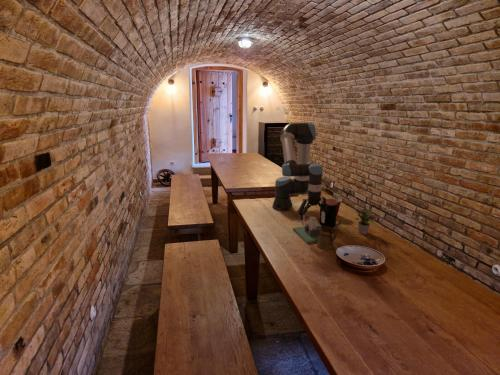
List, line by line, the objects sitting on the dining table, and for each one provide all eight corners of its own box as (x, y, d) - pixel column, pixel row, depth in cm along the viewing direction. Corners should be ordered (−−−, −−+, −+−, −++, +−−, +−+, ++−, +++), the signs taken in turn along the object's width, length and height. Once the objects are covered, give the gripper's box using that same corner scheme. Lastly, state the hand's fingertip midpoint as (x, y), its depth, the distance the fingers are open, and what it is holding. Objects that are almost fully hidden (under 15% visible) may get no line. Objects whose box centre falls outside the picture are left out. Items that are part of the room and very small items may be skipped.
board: (292, 230, 201) (293, 222, 199) (315, 227, 205) (315, 219, 204) (307, 243, 182) (307, 235, 181) (331, 240, 187) (332, 231, 185)
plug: (308, 231, 195) (308, 216, 192) (312, 231, 196) (313, 216, 193) (311, 234, 190) (312, 219, 188) (316, 234, 191) (317, 218, 188)
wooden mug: (334, 254, 170) (337, 223, 165) (313, 246, 180) (315, 216, 175) (343, 248, 176) (345, 219, 171) (322, 241, 186) (324, 212, 181)
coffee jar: (334, 224, 209) (336, 199, 204) (336, 231, 199) (339, 204, 194) (317, 224, 210) (319, 198, 205) (319, 230, 200) (321, 204, 195)
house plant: (356, 238, 188) (358, 213, 184) (345, 229, 202) (347, 205, 197) (378, 237, 191) (381, 211, 186) (366, 227, 204) (369, 204, 199)
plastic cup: (332, 211, 232) (333, 196, 229) (343, 215, 224) (345, 199, 221) (321, 214, 226) (322, 198, 223) (333, 219, 218) (334, 203, 215)
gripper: (298, 194, 178) (296, 228, 184) (336, 190, 185) (334, 223, 191) (292, 190, 185) (291, 223, 191) (330, 186, 192) (327, 218, 198)
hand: (312, 223), depth 191 cm, fingers open, 13 cm apart
